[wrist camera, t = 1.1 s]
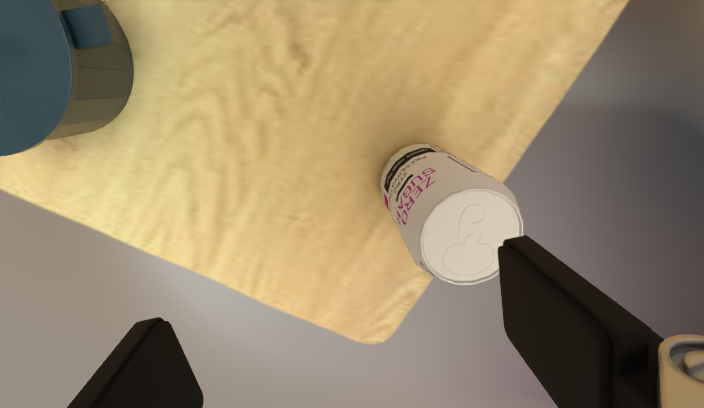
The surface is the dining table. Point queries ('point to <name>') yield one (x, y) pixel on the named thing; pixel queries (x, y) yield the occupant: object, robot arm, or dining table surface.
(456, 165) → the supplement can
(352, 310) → the dining table surface
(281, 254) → the dining table surface
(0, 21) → the pot lid
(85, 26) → the pot
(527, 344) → the robot arm
